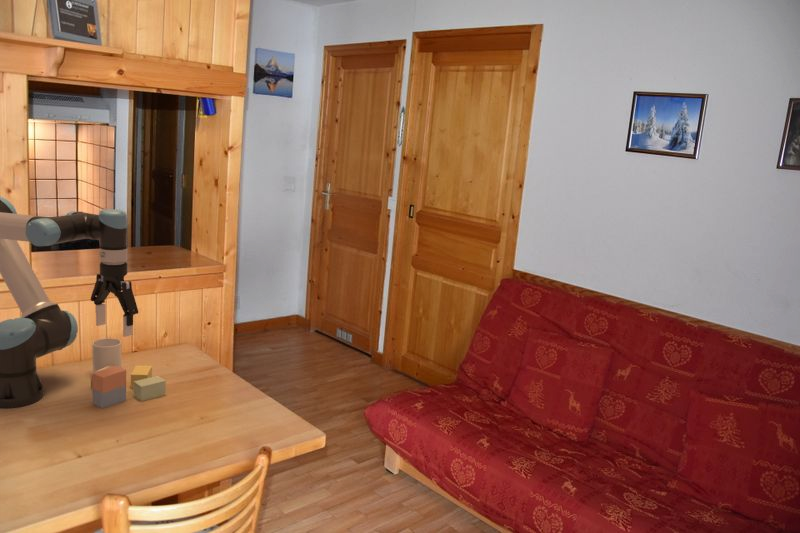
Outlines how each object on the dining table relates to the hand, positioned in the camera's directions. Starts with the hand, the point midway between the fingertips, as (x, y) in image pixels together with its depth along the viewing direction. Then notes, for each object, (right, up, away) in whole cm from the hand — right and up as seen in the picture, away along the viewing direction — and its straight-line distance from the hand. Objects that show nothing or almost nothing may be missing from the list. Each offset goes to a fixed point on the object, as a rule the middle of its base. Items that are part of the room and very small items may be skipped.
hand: (114, 330), depth 198 cm
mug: (-12, -17, +24) cm, 31 cm away
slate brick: (-2, -22, +2) cm, 22 cm away
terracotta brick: (-2, -17, +1) cm, 18 cm away
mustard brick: (+2, -19, +17) cm, 26 cm away
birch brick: (-8, -19, +13) cm, 25 cm away
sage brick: (+7, -22, +9) cm, 25 cm away
